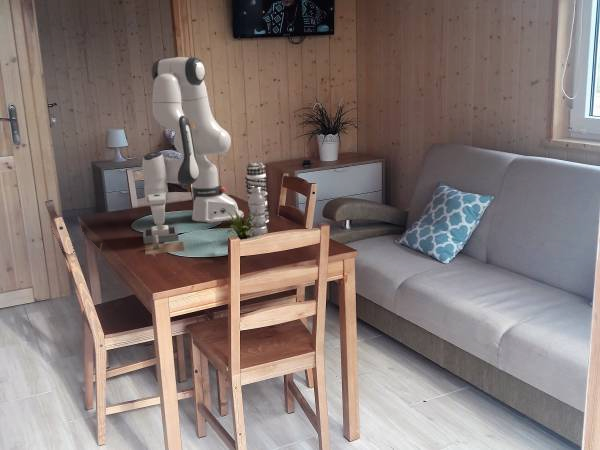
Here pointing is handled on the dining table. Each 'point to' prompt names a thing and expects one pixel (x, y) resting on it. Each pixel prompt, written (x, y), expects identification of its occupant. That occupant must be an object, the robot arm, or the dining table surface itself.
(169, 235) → the charcoal tray
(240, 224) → the house plant
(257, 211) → the plastic bottle
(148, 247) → the walnut board
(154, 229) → the cream collar
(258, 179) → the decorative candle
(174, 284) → the dining table surface
